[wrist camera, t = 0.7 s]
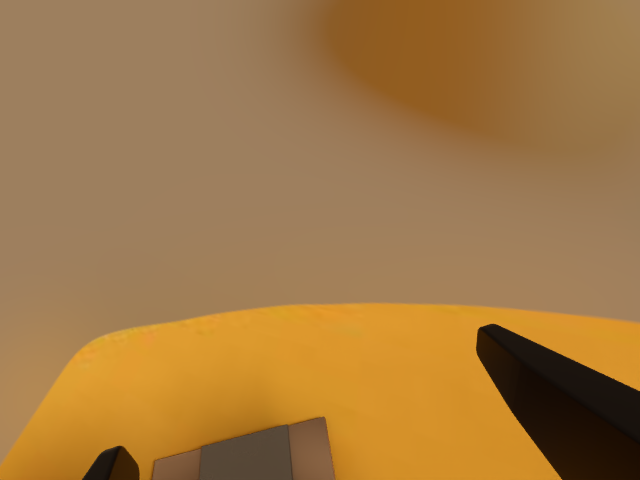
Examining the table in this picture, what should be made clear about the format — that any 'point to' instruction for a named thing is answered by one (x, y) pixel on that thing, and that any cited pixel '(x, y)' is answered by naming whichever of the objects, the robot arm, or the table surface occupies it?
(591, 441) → the robot arm
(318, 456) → the door board
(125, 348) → the table surface
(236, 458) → the plate
